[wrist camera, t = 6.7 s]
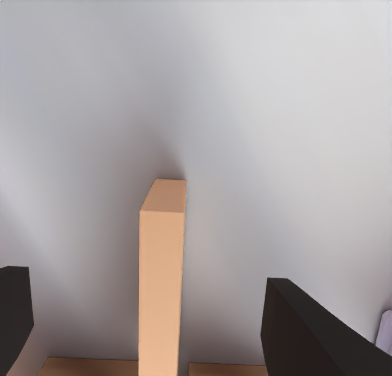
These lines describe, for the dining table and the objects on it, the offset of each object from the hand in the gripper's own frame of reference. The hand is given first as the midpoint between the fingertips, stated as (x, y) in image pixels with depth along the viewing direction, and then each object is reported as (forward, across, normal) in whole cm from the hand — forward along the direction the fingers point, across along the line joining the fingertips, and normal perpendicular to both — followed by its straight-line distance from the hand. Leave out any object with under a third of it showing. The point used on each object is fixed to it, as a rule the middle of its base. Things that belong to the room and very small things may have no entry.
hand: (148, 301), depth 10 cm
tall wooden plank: (+10, 0, +4) cm, 11 cm away
